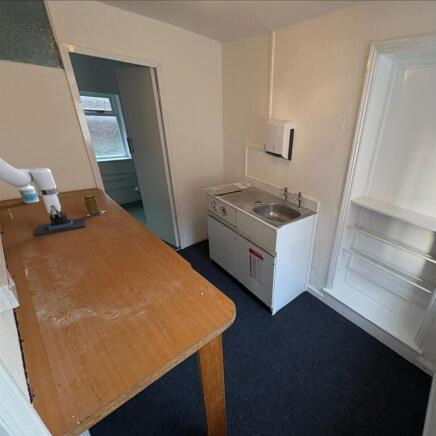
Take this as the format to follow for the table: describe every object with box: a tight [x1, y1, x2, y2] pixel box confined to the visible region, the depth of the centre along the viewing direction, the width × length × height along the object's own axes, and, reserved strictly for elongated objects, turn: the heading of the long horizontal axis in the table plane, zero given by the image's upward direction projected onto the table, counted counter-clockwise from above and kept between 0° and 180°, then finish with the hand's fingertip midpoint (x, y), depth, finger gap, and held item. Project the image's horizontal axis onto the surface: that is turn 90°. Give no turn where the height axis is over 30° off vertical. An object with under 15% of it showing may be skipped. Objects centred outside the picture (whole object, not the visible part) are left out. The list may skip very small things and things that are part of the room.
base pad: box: [34, 217, 86, 237], centre depth 132 cm, size 20×14×3 cm
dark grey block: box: [49, 212, 69, 226], centre depth 130 cm, size 6×5×4 cm
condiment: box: [83, 194, 106, 217], centre depth 149 cm, size 7×8×12 cm
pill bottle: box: [18, 183, 40, 204], centre depth 163 cm, size 8×7×14 cm
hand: (60, 222), depth 131 cm, fingers closed on dark grey block, 4 cm apart
